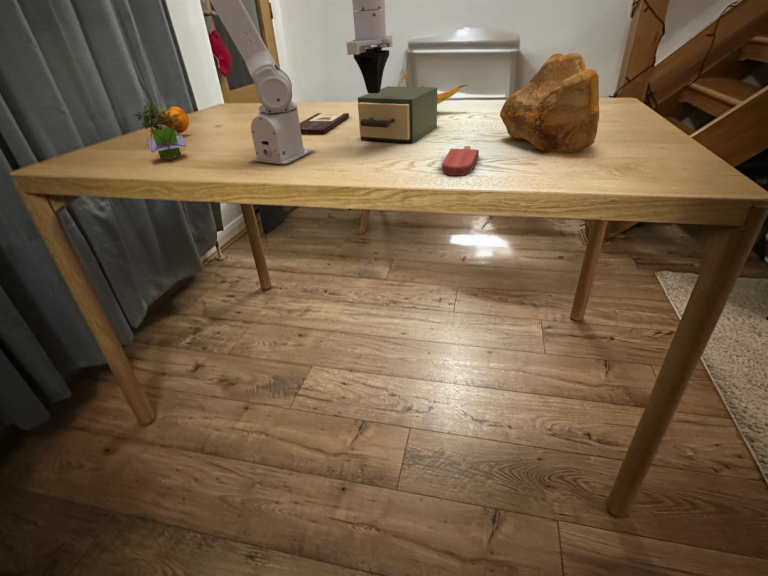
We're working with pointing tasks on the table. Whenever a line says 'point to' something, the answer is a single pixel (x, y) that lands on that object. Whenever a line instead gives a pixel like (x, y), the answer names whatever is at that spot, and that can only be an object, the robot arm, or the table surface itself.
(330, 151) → the table surface
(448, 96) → the magic lamp
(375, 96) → the cabinet
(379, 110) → the drawer
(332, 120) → the chocolate bar
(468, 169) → the popsicle
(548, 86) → the rough brown rock
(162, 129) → the geometric puzzle
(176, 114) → the christmas decoration
